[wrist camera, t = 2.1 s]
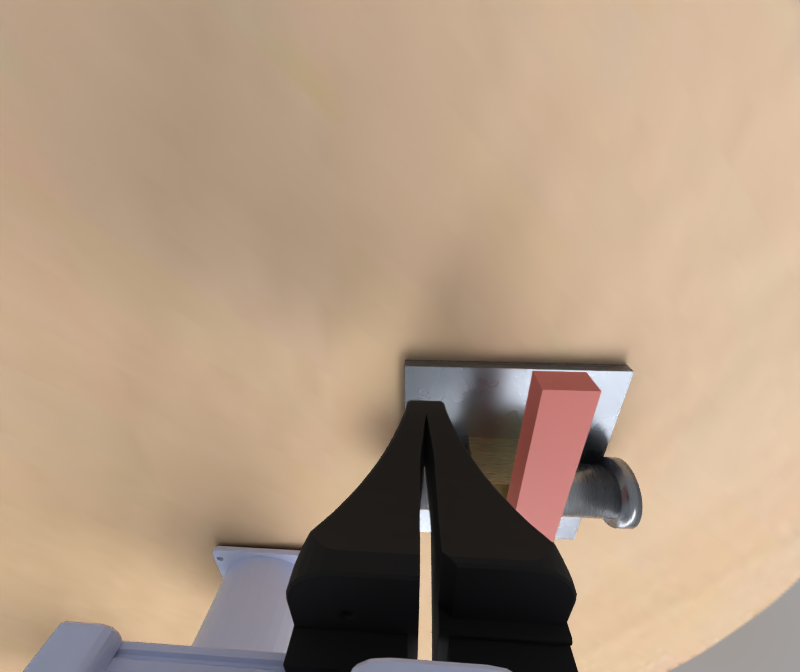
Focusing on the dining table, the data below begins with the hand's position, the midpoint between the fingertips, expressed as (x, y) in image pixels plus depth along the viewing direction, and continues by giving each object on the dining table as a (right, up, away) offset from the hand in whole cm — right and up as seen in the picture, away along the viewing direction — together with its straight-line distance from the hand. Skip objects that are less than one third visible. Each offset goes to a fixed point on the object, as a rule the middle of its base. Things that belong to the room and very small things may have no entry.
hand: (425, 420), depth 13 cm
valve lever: (+4, -3, +1) cm, 5 cm away
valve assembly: (+5, -4, +7) cm, 9 cm away
